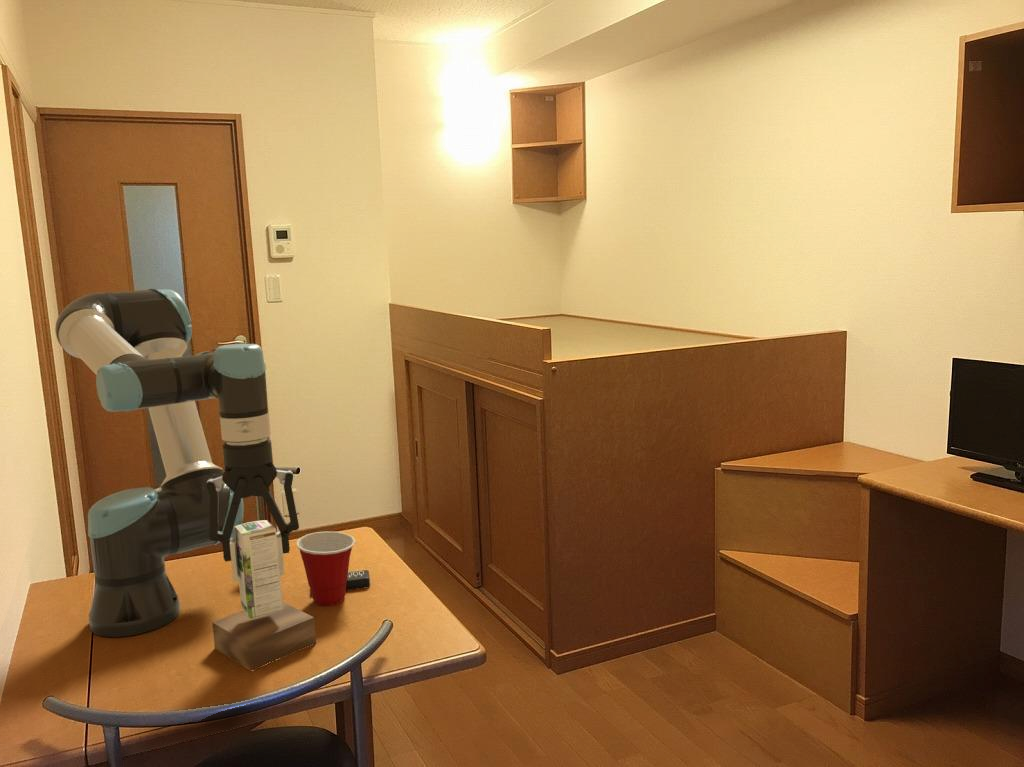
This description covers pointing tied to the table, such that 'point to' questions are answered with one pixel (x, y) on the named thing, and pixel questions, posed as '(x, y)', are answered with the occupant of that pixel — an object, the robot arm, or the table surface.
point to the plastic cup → (326, 564)
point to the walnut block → (263, 636)
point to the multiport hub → (358, 579)
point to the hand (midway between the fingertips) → (259, 574)
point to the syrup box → (258, 568)
